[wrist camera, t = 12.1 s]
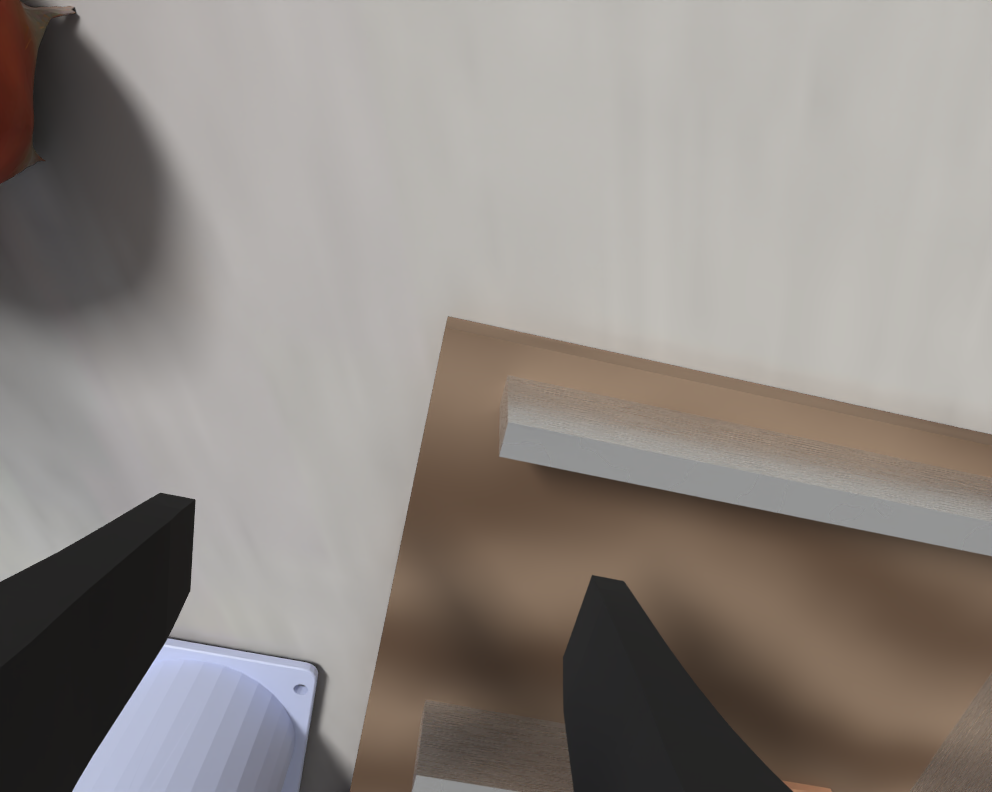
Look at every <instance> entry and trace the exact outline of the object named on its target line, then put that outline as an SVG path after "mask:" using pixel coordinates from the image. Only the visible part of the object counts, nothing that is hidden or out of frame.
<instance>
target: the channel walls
mask: <svg viewBox="0 0 992 792" xmlns="http://www.w3.org/2000/svg"><path fill="white" fill-rule="evenodd" d="M499 457H504V458H509V459H514V460H519V461H524V462H528V463H533V464H538V465H543V466H548V467H553V468H558V469H563V470H568V471H573V472H578V473H583V474H588V475H593V476H598V477H603V478H608V479H613V480H617V481H622V482H627V483H632V484H637V485H642V486H647V487H652V488H657V489H662V490H667V491H672V492H677V493H682V494H687V495H692V496H697V497H702V498H706V499H711V500H716V501H721V502H726V503H731V504H736V505H741V506H746V507H751V508H756V509H761V510H766V511H771V512H776V513H781V514H786V515H791V516H795V517H800V518H805V519H810V520H815V521H820V522H825V523H830V524H835V525H840V526H845V527H850V528H855V529H860V530H865V531H870V532H875V533H880V534H884V535H889V536H894V537H899V538H904V539H909V540H914V541H919V542H924V543H929V544H934V545H939V546H944V547H949V548H954V549H959V550H964V551H968V552H973V553H978V554H983V555H988V556H992V478H991V477H986V476H981V475H977V474H972V473H967V472H962V471H958V470H953V469H948V468H944V467H939V466H934V465H929V464H925V463H920V462H915V461H911V460H906V459H901V458H896V457H892V456H887V455H882V454H878V453H873V452H868V451H863V450H859V449H854V448H849V447H845V446H840V445H835V444H830V443H826V442H821V441H816V440H812V439H807V438H802V437H797V436H793V435H788V434H783V433H779V432H774V431H769V430H765V429H760V428H755V427H750V426H746V425H741V424H736V423H732V422H727V421H722V420H717V419H713V418H708V417H703V416H699V415H694V414H689V413H684V412H680V411H675V410H670V409H666V408H661V407H656V406H651V405H647V404H642V403H637V402H633V401H628V400H623V399H618V398H614V397H609V396H604V395H600V394H595V393H590V392H585V391H581V390H576V389H571V388H567V387H562V386H557V385H552V384H548V383H543V382H538V381H534V380H529V379H524V378H520V377H515V376H510V375H507V379H506V383H505V387H504V391H503V395H502V399H501V403H500V424H499ZM411 792H574V789H573V782H572V774H571V767H570V760H569V752H568V744H567V736H566V729H565V724H564V723H558V722H552V721H546V720H540V719H535V718H529V717H523V716H517V715H511V714H505V713H500V712H494V711H488V710H482V709H476V708H470V707H465V706H459V705H453V704H447V703H441V702H435V701H430V700H425V704H424V708H423V712H422V716H421V721H420V729H419V736H418V744H417V752H416V760H415V768H414V775H413V783H412V791H411ZM909 792H992V673H991V675H990V676H989V677H988V679H987V680H986V682H985V683H984V685H983V686H982V688H981V689H980V690H979V692H978V693H977V695H976V696H975V698H974V699H973V701H972V702H971V703H970V705H969V706H968V708H967V709H966V711H965V712H964V713H963V715H962V716H961V718H960V719H959V721H958V722H957V724H956V725H955V726H954V728H953V729H952V731H951V732H950V734H949V735H948V737H947V738H946V739H945V741H944V742H943V744H942V745H941V747H940V748H939V750H938V751H937V752H936V754H935V755H934V757H933V758H932V760H931V761H930V763H929V764H928V765H927V767H926V768H925V770H924V771H923V773H922V774H921V776H920V777H919V778H918V780H917V781H916V783H915V784H914V786H913V787H912V789H911V790H910V791H909Z"/></svg>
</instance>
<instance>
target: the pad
mask: <svg viewBox="0 0 992 792" xmlns="http://www.w3.org/2000/svg"><path fill="white" fill-rule="evenodd" d="M781 781H782V780H781ZM782 782H784V783H785V784H786V785H787V786H788V787H789V788H790V789H791V790H792V791H793V792H832V791H831V789H830V788H824V787H818V786H812V785H806V784H800V783H794V782H788V781H782Z"/></svg>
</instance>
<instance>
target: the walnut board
mask: <svg viewBox="0 0 992 792" xmlns="http://www.w3.org/2000/svg"><path fill="white" fill-rule="evenodd" d="M507 375H510V376H515V377H520V378H524V379H529V380H534V381H538V382H543V383H548V384H552V385H557V386H562V387H567V388H571V389H576V390H581V391H585V392H590V393H595V394H600V395H604V396H609V397H614V398H618V399H623V400H628V401H633V402H637V403H642V404H647V405H651V406H656V407H661V408H666V409H670V410H675V411H680V412H684V413H689V414H694V415H699V416H703V417H708V418H713V419H717V420H722V421H727V422H732V423H736V424H741V425H746V426H750V427H755V428H760V429H765V430H769V431H774V432H779V433H783V434H788V435H793V436H797V437H802V438H807V439H812V440H816V441H821V442H826V443H830V444H835V445H840V446H845V447H849V448H854V449H859V450H863V451H868V452H873V453H878V454H882V455H887V456H892V457H896V458H901V459H906V460H911V461H915V462H920V463H925V464H929V465H934V466H939V467H944V468H948V469H953V470H958V471H962V472H967V473H972V474H977V475H981V476H986V477H991V478H992V435H991V434H986V433H981V432H977V431H972V430H968V429H963V428H958V427H954V426H949V425H945V424H940V423H935V422H931V421H926V420H922V419H917V418H913V417H908V416H903V415H899V414H894V413H890V412H885V411H880V410H876V409H871V408H867V407H862V406H857V405H853V404H848V403H844V402H839V401H834V400H830V399H825V398H821V397H816V396H811V395H807V394H802V393H798V392H793V391H788V390H784V389H779V388H775V387H770V386H766V385H761V384H756V383H752V382H747V381H743V380H738V379H733V378H729V377H724V376H720V375H715V374H710V373H706V372H701V371H697V370H692V369H687V368H683V367H678V366H674V365H669V364H664V363H660V362H655V361H651V360H646V359H642V358H637V357H632V356H628V355H623V354H619V353H614V352H609V351H605V350H600V349H596V348H591V347H586V346H582V345H577V344H573V343H568V342H563V341H559V340H554V339H550V338H545V337H540V336H536V335H531V334H527V333H522V332H518V331H513V330H508V329H504V328H499V327H495V326H490V325H485V324H481V323H476V322H472V321H467V320H462V319H458V318H453V317H449V316H448V318H447V323H446V327H445V332H444V337H443V342H442V346H441V351H440V356H439V361H438V366H437V371H436V376H435V380H434V385H433V390H432V395H431V400H430V405H429V409H428V414H427V419H426V424H425V429H424V434H423V439H422V443H421V448H420V453H419V458H418V463H417V468H416V473H415V477H414V482H413V487H412V492H411V497H410V502H409V507H408V511H407V516H406V521H405V526H404V531H403V536H402V540H401V545H400V550H399V555H398V560H397V565H396V570H395V574H394V579H393V584H392V589H391V594H390V599H389V604H388V608H387V613H386V618H385V623H384V628H383V633H382V637H381V642H380V647H379V652H378V657H377V662H376V667H375V671H374V676H373V681H372V686H371V691H370V696H369V701H368V705H367V710H366V715H365V720H364V725H363V730H362V735H361V739H360V744H359V749H358V754H357V759H356V764H355V768H354V773H353V778H352V783H351V788H350V792H411V791H412V783H413V775H414V768H415V760H416V752H417V744H418V736H419V729H420V721H421V716H422V712H423V708H424V704H425V700H430V701H435V702H441V703H447V704H453V705H459V706H465V707H470V708H476V709H482V710H488V711H494V712H500V713H505V714H511V715H517V716H523V717H529V718H535V719H540V720H546V721H552V722H558V723H564V724H565V720H564V712H563V656H564V653H565V650H566V648H567V645H568V642H569V639H570V636H571V633H572V630H573V628H574V625H575V622H576V619H577V616H578V613H579V611H580V608H581V605H582V602H583V599H584V596H585V593H586V591H587V588H588V585H589V582H590V579H591V576H592V575H595V576H600V577H606V578H611V579H616V580H621V581H624V582H625V583H626V585H627V586H628V587H629V589H630V590H631V592H632V593H633V595H634V596H635V598H636V599H637V601H638V602H639V604H640V605H641V607H642V608H643V610H644V611H645V613H646V614H647V616H648V617H649V619H650V620H651V622H652V623H653V625H654V626H655V628H656V629H657V631H658V632H659V634H660V635H661V637H662V638H663V639H664V641H665V642H666V644H667V645H668V647H669V648H670V649H671V651H672V652H673V654H674V655H675V656H676V658H677V659H678V661H679V662H680V663H681V665H682V666H683V668H684V669H685V670H686V672H687V673H688V674H689V676H690V677H691V678H692V680H693V681H694V682H695V683H696V685H697V686H698V687H699V689H700V690H701V691H702V692H703V694H704V695H705V696H706V697H707V699H708V700H709V701H710V702H711V704H712V705H713V706H714V707H715V709H716V710H717V711H718V712H719V714H720V715H721V716H722V717H723V718H724V719H725V721H726V722H727V723H728V724H729V725H730V726H731V728H732V729H733V730H734V731H735V732H736V733H737V734H738V735H739V737H740V738H741V739H742V740H743V741H744V742H745V743H746V744H747V745H748V746H749V747H750V748H751V749H752V751H753V752H754V753H755V754H756V755H757V756H758V757H759V758H760V759H761V760H762V761H763V762H764V763H765V764H766V765H767V767H768V768H769V769H770V770H771V771H772V772H773V773H774V774H775V775H776V776H777V777H778V778H779V779H780V780H782V781H788V782H794V783H800V784H806V785H812V786H818V787H824V788H830V789H831V791H832V792H909V791H910V790H911V789H912V787H913V786H914V784H915V783H916V781H917V780H918V778H919V777H920V776H921V774H922V773H923V771H924V770H925V768H926V767H927V765H928V764H929V763H930V761H931V760H932V758H933V757H934V755H935V754H936V752H937V751H938V750H939V748H940V747H941V745H942V744H943V742H944V741H945V739H946V738H947V737H948V735H949V734H950V732H951V731H952V729H953V728H954V726H955V725H956V724H957V722H958V721H959V719H960V718H961V716H962V715H963V713H964V712H965V711H966V709H967V708H968V706H969V705H970V703H971V702H972V701H973V699H974V698H975V696H976V695H977V693H978V692H979V690H980V689H981V688H982V686H983V685H984V683H985V682H986V680H987V679H988V677H989V676H990V675H991V673H992V556H988V555H983V554H978V553H973V552H968V551H964V550H959V549H954V548H949V547H944V546H939V545H934V544H929V543H924V542H919V541H914V540H909V539H904V538H899V537H894V536H889V535H884V534H880V533H875V532H870V531H865V530H860V529H855V528H850V527H845V526H840V525H835V524H830V523H825V522H820V521H815V520H810V519H805V518H800V517H795V516H791V515H786V514H781V513H776V512H771V511H766V510H761V509H756V508H751V507H746V506H741V505H736V504H731V503H726V502H721V501H716V500H711V499H706V498H702V497H697V496H692V495H687V494H682V493H677V492H672V491H667V490H662V489H657V488H652V487H647V486H642V485H637V484H632V483H627V482H622V481H617V480H613V479H608V478H603V477H598V476H593V475H588V474H583V473H578V472H573V471H568V470H563V469H558V468H553V467H548V466H543V465H538V464H533V463H528V462H524V461H519V460H514V459H509V458H504V457H499V424H500V403H501V399H502V395H503V391H504V387H505V383H506V379H507Z"/></svg>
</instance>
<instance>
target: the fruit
mask: <svg viewBox="0 0 992 792" xmlns="http://www.w3.org/2000/svg"><path fill="white" fill-rule="evenodd" d="M72 8H74V7H71V6H67V7H57V6H54V7H36V8H34V7H29V6H27V5H25V4H23V3H22V2H21V1H20V0H0V184H1V183H3V182H5V181H6V180H8V179H10V178H12V177H14V176H15V175H16V174H18V173H20V172H22V171H23V170H24V169H25V168H27V167H30V166H32V165H34V164H35V163H36V162H38V161H45V160H44V159H42V158H41V157H40V156H39V155H38V154H37V153H36V151H35V149H34V148H33V136H32V135H33V128H34V110H33V86H34V73H35V66H36V60H37V53H38V48H39V45H40V42H41V40H42V37H43V35H44V32H45V29H46V27H47V25H48V23H49V21H50V19H51V18H54V17H59V16H64V15H69V14H74V13H75V12H74V11H73V10H72Z"/></svg>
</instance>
